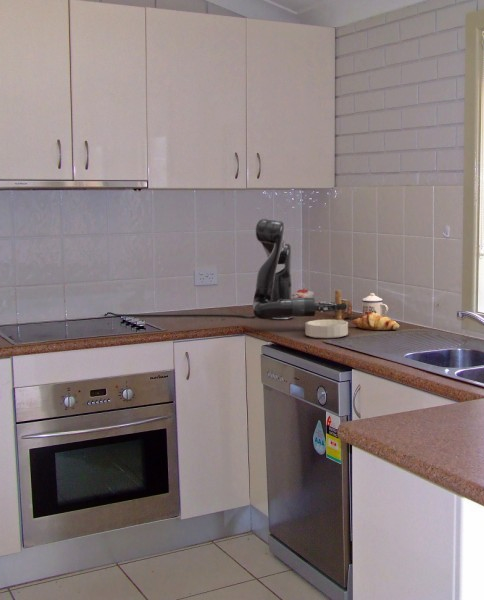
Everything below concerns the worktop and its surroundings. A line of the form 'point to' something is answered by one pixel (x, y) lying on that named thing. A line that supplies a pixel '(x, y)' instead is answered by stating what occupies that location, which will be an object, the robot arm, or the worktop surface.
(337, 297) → the wooden pestle
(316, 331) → the bowl
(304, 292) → the food item
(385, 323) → the croissant
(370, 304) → the teacup with lid
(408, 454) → the worktop surface
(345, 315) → the tin
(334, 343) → the worktop surface
